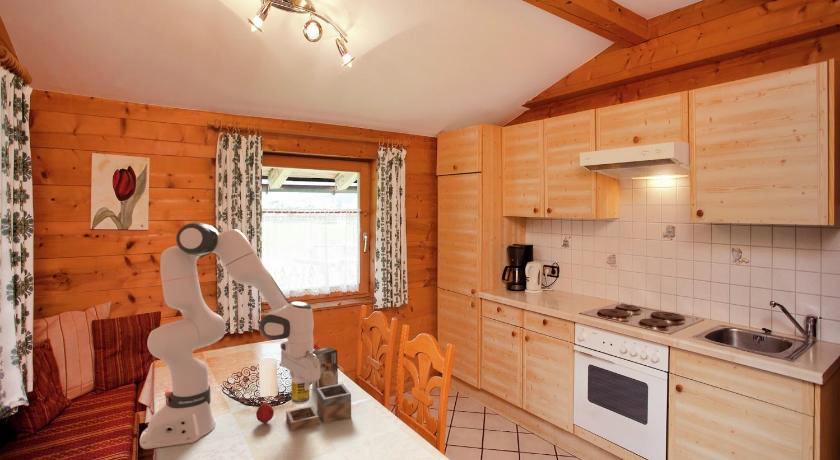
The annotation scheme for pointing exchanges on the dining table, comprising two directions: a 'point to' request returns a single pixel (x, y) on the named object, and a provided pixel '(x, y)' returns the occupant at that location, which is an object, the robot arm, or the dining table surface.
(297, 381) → the pill bottle
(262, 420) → the onion
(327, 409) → the stepped holder
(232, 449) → the dining table surface
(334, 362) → the coffee box
